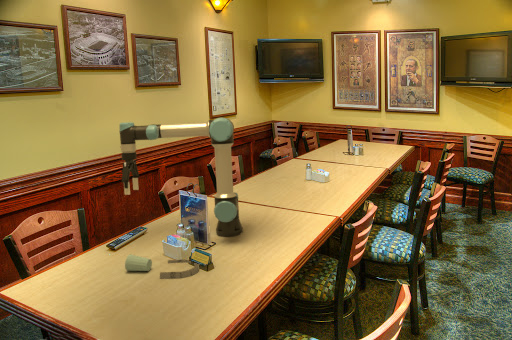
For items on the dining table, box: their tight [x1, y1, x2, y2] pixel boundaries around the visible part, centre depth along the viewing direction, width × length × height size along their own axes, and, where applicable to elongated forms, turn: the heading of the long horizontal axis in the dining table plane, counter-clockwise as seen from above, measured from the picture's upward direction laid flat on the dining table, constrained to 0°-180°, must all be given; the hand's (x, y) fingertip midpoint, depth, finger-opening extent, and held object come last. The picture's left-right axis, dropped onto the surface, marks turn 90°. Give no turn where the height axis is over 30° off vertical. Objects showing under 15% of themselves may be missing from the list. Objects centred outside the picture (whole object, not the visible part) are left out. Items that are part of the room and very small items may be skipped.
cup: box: [124, 254, 153, 272], centre depth 207 cm, size 8×8×10 cm
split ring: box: [159, 258, 200, 280], centre depth 206 cm, size 16×18×2 cm
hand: (131, 192), depth 234 cm, fingers open, 13 cm apart
